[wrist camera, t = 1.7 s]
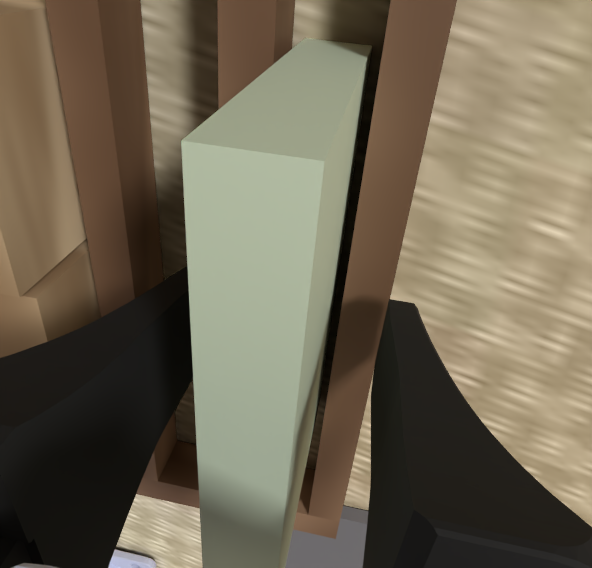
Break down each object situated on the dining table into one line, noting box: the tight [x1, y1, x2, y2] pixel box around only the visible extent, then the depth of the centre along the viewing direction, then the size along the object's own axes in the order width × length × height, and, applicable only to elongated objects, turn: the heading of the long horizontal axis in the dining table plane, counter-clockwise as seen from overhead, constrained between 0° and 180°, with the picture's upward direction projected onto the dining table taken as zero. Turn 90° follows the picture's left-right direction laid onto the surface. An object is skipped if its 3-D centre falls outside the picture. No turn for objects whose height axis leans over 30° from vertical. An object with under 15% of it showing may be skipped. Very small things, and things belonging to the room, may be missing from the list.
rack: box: [45, 0, 457, 539], centre depth 15 cm, size 14×22×2 cm, turn 175°
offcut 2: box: [0, 238, 101, 358], centre depth 16 cm, size 3×6×4 cm, turn 175°
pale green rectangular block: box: [181, 38, 372, 568], centre depth 12 cm, size 2×12×8 cm, turn 175°
